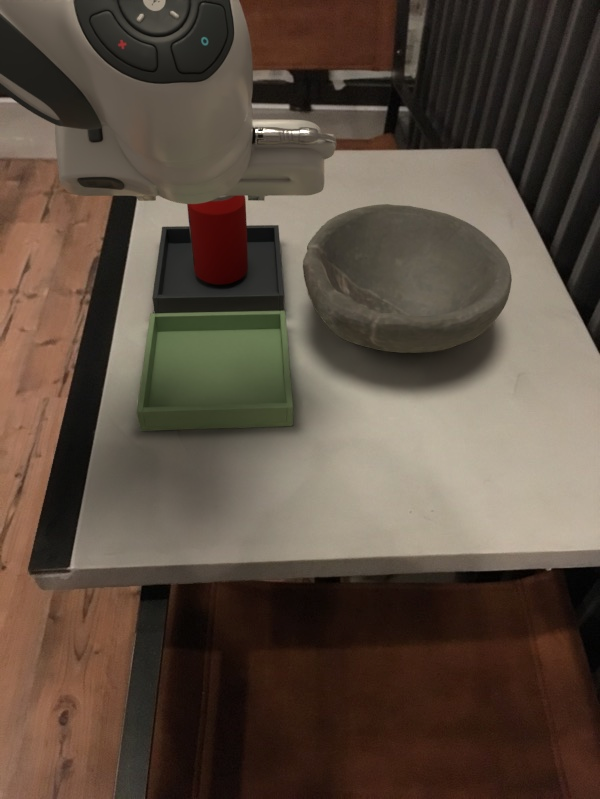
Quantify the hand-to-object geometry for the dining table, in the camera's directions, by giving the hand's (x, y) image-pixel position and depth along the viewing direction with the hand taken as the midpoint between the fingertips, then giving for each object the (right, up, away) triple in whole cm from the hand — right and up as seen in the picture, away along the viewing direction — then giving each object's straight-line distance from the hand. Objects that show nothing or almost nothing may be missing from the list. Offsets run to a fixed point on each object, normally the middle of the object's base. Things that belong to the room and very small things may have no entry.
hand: (202, 191), depth 60 cm
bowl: (+20, -9, +21) cm, 31 cm away
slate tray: (-1, -3, +27) cm, 27 cm away
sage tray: (0, -16, +14) cm, 21 cm away
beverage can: (-1, -3, +26) cm, 27 cm away
